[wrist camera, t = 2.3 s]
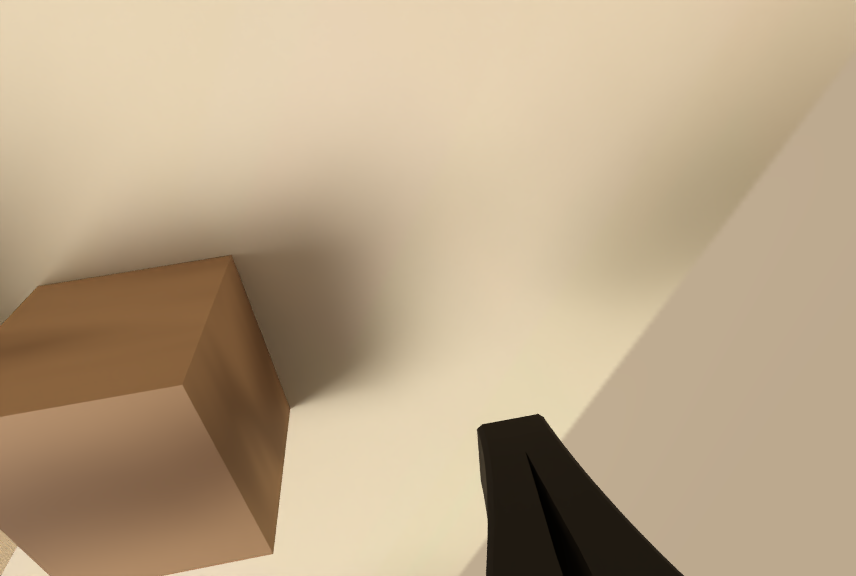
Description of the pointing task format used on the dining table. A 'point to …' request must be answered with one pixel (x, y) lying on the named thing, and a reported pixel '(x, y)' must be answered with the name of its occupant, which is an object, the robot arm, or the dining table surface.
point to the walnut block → (140, 424)
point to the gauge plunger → (5, 550)
